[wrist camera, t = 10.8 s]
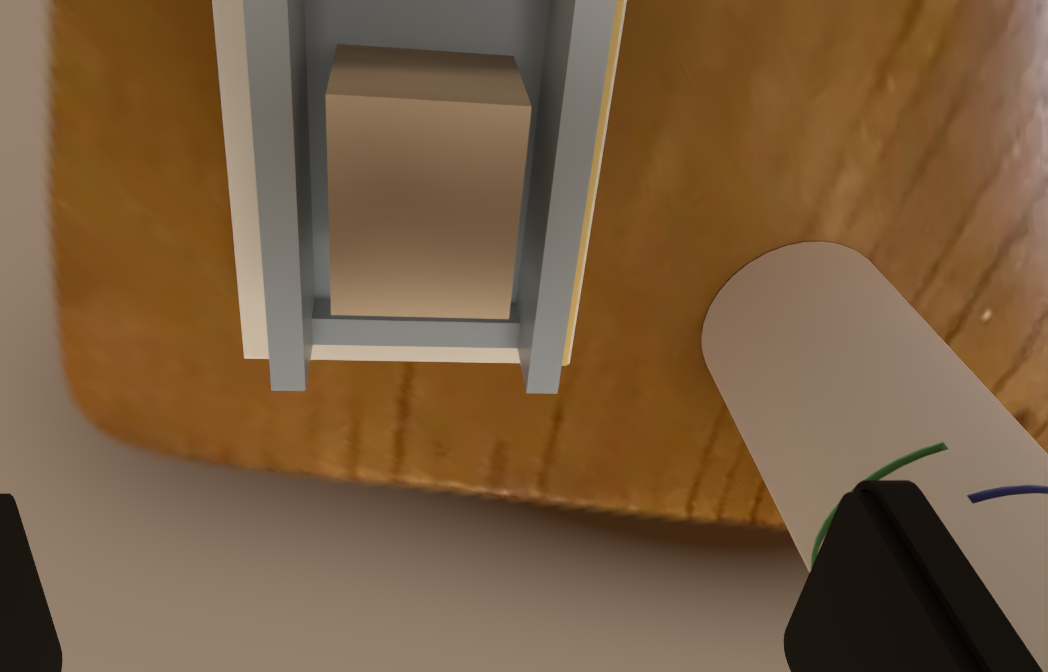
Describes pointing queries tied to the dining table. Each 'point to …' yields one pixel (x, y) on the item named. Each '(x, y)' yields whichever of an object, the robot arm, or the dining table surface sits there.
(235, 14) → the dock
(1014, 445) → the cylindrical container
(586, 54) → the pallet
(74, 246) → the dining table surface
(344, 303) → the tan block
